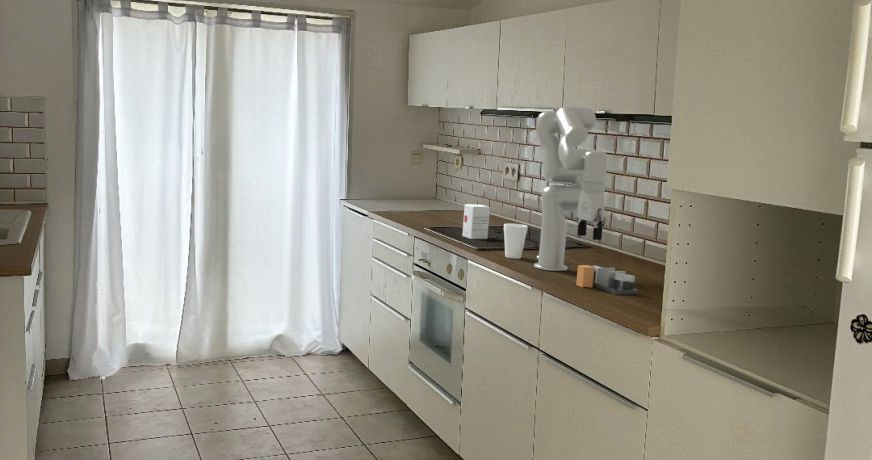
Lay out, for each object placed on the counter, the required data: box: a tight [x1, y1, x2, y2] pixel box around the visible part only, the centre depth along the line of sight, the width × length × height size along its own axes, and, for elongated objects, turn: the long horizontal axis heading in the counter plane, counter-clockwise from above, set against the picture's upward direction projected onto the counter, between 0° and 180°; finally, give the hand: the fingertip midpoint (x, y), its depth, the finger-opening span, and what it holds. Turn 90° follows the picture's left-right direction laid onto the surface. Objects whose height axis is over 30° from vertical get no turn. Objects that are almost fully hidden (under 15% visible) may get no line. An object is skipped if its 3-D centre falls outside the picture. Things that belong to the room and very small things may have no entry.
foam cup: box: [503, 223, 528, 259], centre depth 363 cm, size 10×9×13 cm
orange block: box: [575, 264, 594, 288], centre depth 309 cm, size 4×4×7 cm
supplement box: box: [461, 203, 491, 240], centre depth 413 cm, size 9×9×15 cm
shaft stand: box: [592, 264, 639, 296], centre depth 309 cm, size 20×9×6 cm, turn 22°
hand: (589, 237), depth 307 cm, fingers open, 9 cm apart
